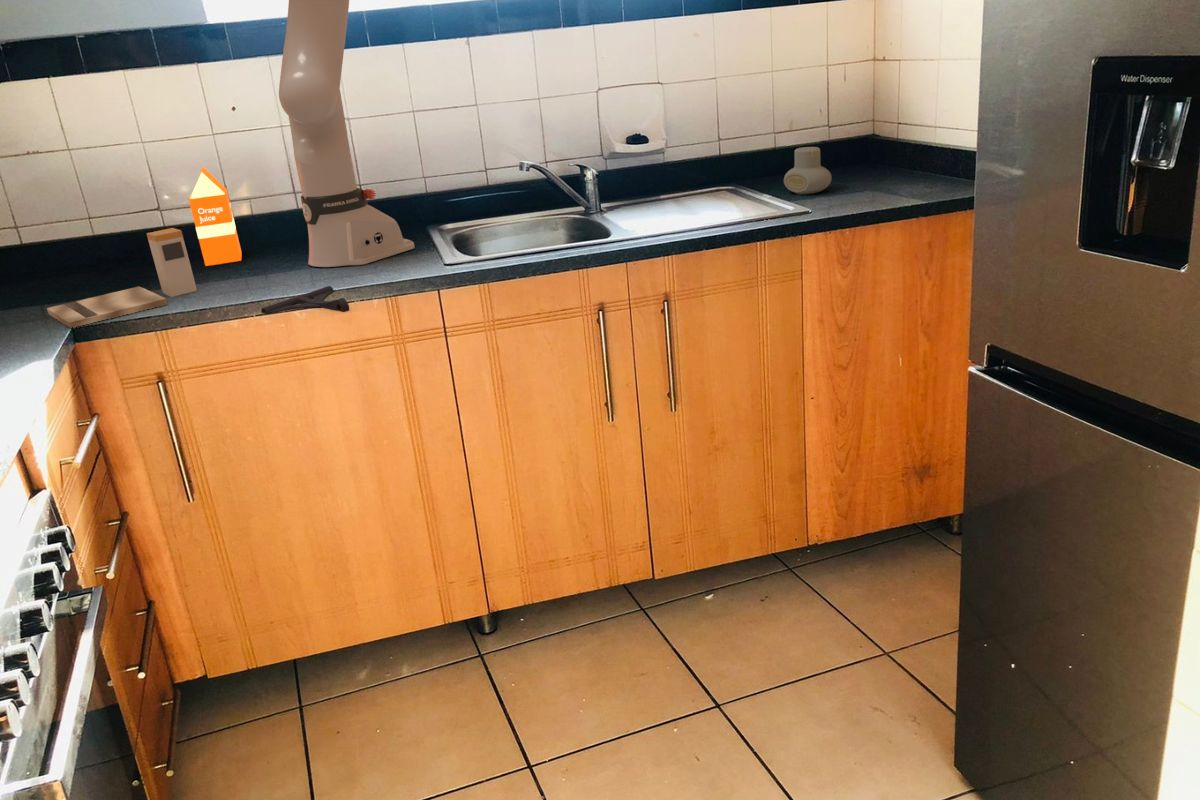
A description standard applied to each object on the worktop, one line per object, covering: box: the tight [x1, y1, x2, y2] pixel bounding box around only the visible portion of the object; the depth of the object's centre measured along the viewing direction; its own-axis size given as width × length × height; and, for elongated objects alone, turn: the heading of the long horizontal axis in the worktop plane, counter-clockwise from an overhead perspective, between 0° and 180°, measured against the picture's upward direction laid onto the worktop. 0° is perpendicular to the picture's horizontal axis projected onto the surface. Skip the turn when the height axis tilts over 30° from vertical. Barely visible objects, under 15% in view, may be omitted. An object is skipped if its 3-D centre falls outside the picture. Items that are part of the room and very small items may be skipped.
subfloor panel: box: [46, 286, 168, 329], centre depth 179 cm, size 17×16×1 cm
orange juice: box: [188, 166, 243, 267], centre depth 208 cm, size 8×9×20 cm
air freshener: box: [783, 146, 833, 196], centre depth 221 cm, size 11×8×10 cm
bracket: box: [260, 285, 350, 315], centre depth 167 cm, size 14×15×3 cm
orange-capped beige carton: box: [146, 227, 198, 298], centre depth 184 cm, size 5×5×12 cm
